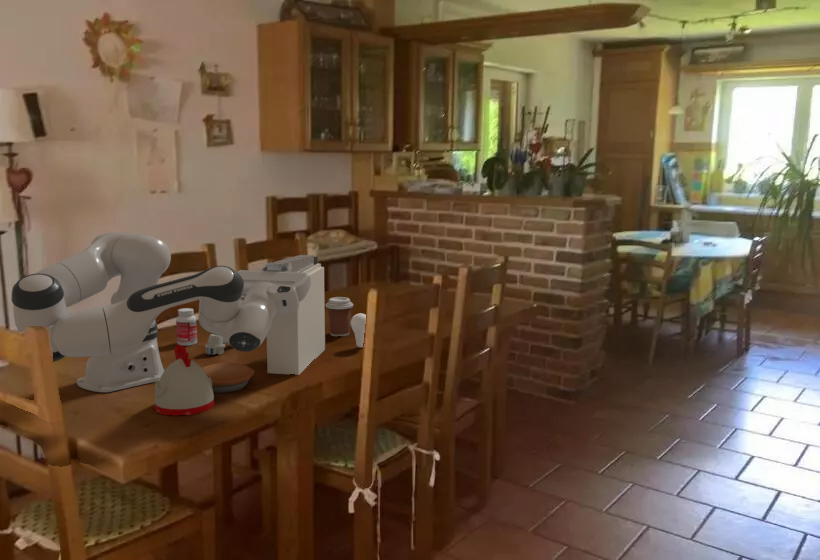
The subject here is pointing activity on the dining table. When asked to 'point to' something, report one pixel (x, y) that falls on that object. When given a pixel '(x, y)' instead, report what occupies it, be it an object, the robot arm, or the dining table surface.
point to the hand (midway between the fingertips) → (279, 264)
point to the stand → (299, 330)
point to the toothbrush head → (215, 345)
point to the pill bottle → (186, 327)
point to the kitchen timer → (183, 387)
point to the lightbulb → (359, 328)
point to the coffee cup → (339, 315)
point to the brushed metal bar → (293, 263)
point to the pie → (228, 376)
